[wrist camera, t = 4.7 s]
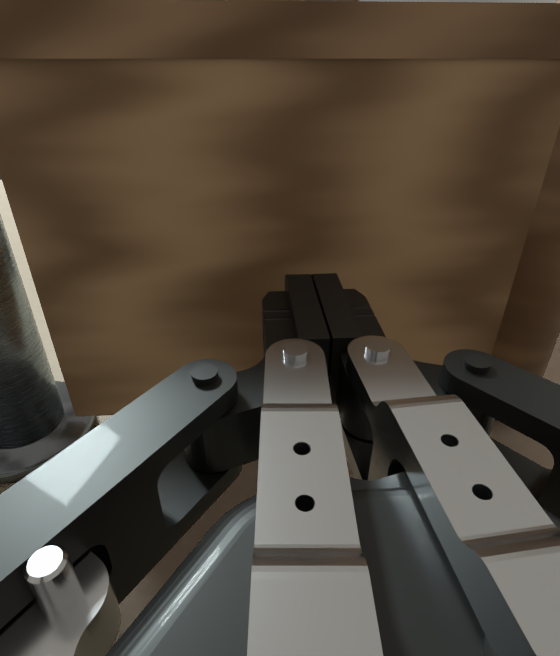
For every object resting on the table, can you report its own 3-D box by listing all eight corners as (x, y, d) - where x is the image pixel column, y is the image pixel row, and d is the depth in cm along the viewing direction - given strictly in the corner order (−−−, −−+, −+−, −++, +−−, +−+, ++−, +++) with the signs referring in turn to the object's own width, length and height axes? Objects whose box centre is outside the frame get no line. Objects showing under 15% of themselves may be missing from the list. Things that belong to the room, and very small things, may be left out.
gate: (74, 437, 17) (-91, -70, 9) (95, 386, 20) (-21, -45, 12) (548, 412, 18) (740, -56, 11) (510, 367, 21) (643, -36, 13)
